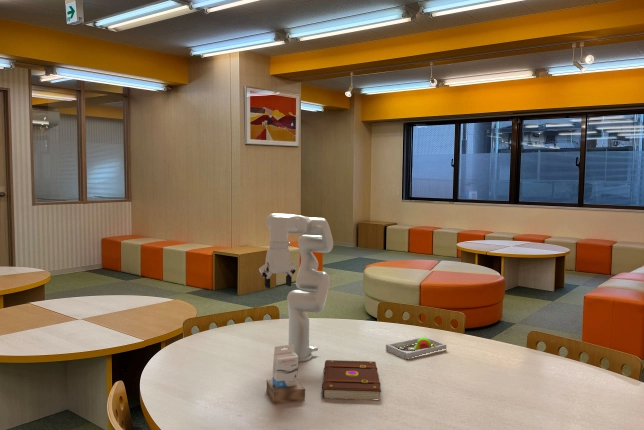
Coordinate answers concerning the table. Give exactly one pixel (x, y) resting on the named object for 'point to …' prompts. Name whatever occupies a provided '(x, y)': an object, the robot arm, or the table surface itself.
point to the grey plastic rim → (394, 350)
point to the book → (350, 380)
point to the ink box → (285, 366)
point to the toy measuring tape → (421, 344)
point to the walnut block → (285, 393)
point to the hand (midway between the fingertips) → (278, 286)
